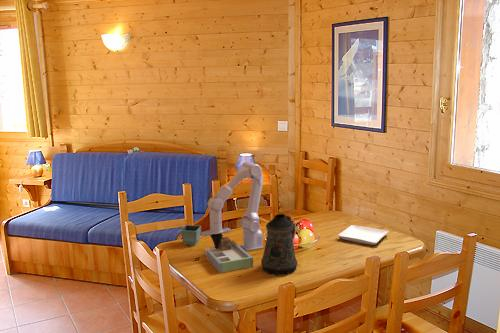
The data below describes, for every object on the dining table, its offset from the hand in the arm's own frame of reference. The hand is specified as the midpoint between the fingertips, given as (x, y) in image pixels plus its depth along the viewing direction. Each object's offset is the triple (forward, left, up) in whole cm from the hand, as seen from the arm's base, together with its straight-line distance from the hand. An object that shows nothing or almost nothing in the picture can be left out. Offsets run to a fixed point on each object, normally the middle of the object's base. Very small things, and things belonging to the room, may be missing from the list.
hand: (216, 248), depth 240 cm
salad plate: (-79, +12, -4) cm, 80 cm away
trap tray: (-2, +8, -3) cm, 9 cm away
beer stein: (-21, +27, -4) cm, 34 cm away
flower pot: (+7, -20, -4) cm, 22 cm away
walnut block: (-4, 0, -1) cm, 4 cm away
